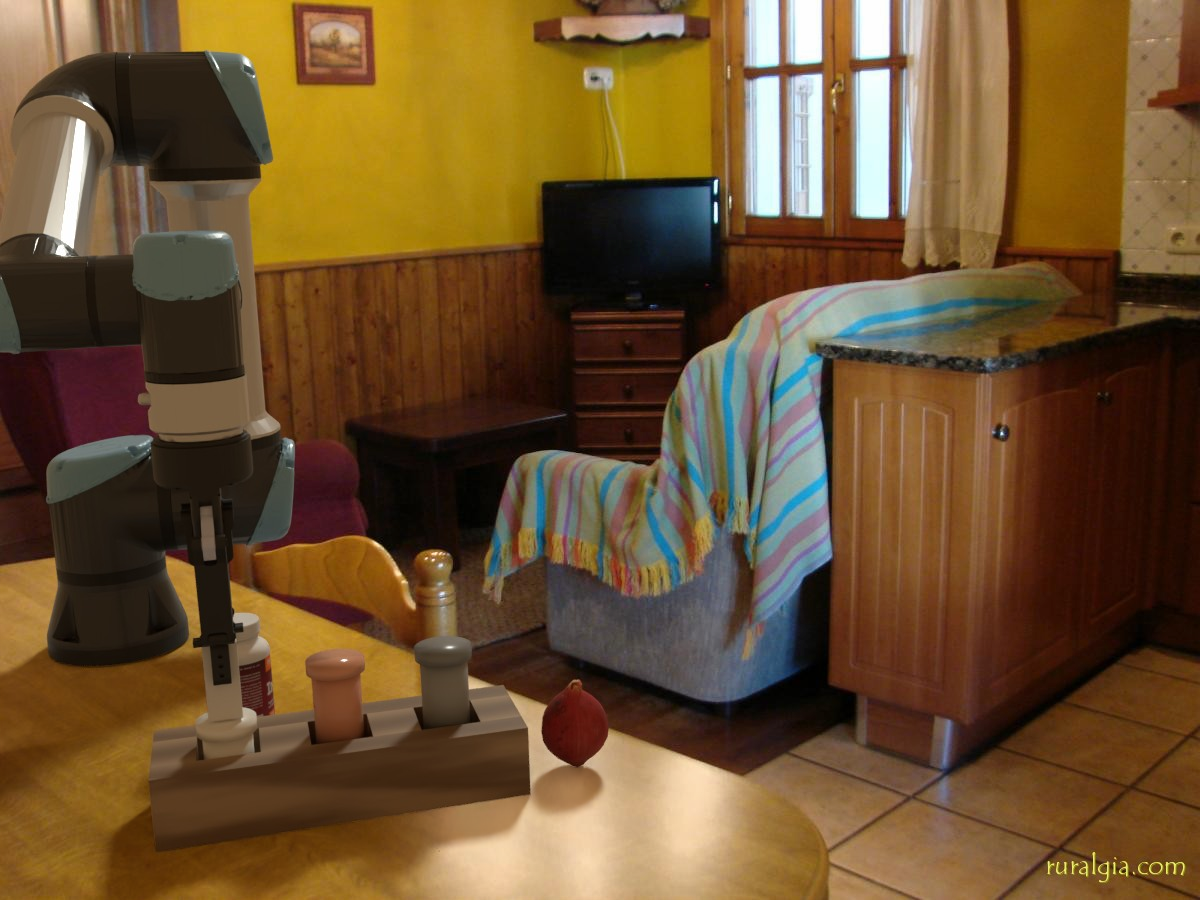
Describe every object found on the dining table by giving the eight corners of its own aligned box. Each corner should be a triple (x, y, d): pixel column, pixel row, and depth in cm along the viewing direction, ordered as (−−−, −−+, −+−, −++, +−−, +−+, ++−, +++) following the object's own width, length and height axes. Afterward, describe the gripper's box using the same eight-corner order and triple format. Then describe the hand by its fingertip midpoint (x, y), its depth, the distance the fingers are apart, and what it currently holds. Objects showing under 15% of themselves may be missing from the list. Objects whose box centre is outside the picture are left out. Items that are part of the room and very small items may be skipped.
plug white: (204, 800, 111) (195, 711, 109) (263, 792, 112) (255, 703, 110) (203, 827, 106) (194, 734, 105) (265, 817, 108) (257, 725, 106)
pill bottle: (286, 733, 125) (277, 622, 122) (221, 750, 121) (211, 636, 119) (263, 712, 130) (254, 605, 127) (200, 728, 126) (190, 618, 124)
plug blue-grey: (415, 727, 115) (410, 639, 113) (470, 719, 116) (465, 633, 114) (423, 749, 110) (418, 658, 109) (480, 741, 111) (476, 651, 110)
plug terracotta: (310, 741, 112) (303, 652, 111) (367, 733, 114) (361, 645, 112) (314, 764, 108) (307, 672, 106) (373, 756, 109) (367, 665, 107)
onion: (560, 786, 112) (557, 698, 110) (532, 761, 117) (528, 676, 115) (620, 771, 115) (618, 684, 113) (590, 747, 120) (587, 663, 118)
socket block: (160, 796, 112) (154, 730, 111) (506, 746, 120) (503, 684, 119) (155, 852, 103) (148, 780, 102) (530, 794, 111) (528, 727, 110)
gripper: (153, 421, 108) (179, 693, 113) (145, 451, 96) (175, 755, 100) (248, 414, 110) (270, 682, 115) (252, 443, 98) (276, 741, 102)
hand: (225, 716), depth 107 cm, fingers closed
